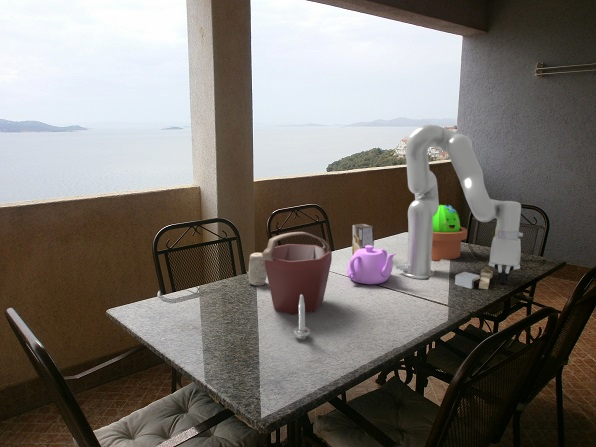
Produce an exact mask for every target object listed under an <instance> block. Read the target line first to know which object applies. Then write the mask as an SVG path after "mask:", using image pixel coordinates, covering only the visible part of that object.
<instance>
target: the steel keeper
mask: <svg viewBox="0 0 596 447" xmlns="http://www.w3.org/2000/svg"><path fill="white" fill-rule="evenodd" d="M480 279H481V274H480V275H479V274H476V273H471V272H467V271H463V272H461V273H458V274H456V275H455V276H454V285H456V286H460V287H462V288H463V287H464V288H467V289H474V286H475V285H474V282H475V281H478V280H480Z"/></svg>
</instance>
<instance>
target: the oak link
mask: <svg viewBox="0 0 596 447" xmlns="http://www.w3.org/2000/svg"><path fill="white" fill-rule="evenodd" d="M490 269H491V268H490V267H487V266H486V267H484V269H481V270H480V276H481V277H480V279H479V284H478V289H482V290H483V289H484V290H488V289H489V286H490V282H491V279H492V278H494V277H493V276H494V273H493V272H494V271H493V270H490Z"/></svg>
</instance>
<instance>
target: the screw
mask: <svg viewBox="0 0 596 447" xmlns="http://www.w3.org/2000/svg"><path fill="white" fill-rule="evenodd" d="M304 304H305V303H304V298H303V295H302V294H301V295H300V300H299V314H298V326H296V327H295V328H294V329H293V334H294V335H297V337H296V338H297V339H299V340H306V339H307V335H309V334H311V329H310V328H309V327H307V326H306V313H305V305H304Z"/></svg>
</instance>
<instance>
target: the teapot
mask: <svg viewBox="0 0 596 447" xmlns="http://www.w3.org/2000/svg"><path fill="white" fill-rule="evenodd" d="M373 248H374V249H373ZM396 255H397V254H396V253H389V254H388V251H387V250H386V249H384V248H379V249H377V248H375V246H371V245H367V246H365V248H363V249H358V250H357V251H356V252H355V253H354V255H353V256H351V258H350V259H349V261H348V264H347V267H346V268H347V269H346V274H347V278H348V279H349V280H352V281H353V282H355V283H358V284H359V283H360V284H364V285H378V284H382V283H385V282H386V281H387V280H388V279H389V278H390V277H391V275H392V272H393V266H394V265H393V258H394V256H396Z"/></svg>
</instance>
